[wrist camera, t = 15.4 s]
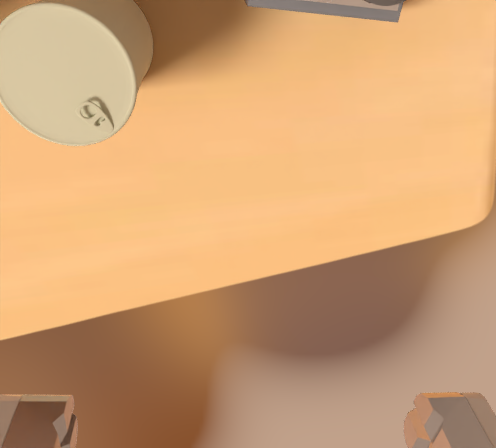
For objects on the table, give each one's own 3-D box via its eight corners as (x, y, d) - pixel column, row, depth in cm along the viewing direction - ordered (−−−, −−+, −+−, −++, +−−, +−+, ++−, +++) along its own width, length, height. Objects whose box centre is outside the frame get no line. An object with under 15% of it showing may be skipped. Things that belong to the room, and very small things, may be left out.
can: (98, 114, 42) (66, 174, 32) (16, 28, 37) (-51, 66, 28) (175, 53, 40) (166, 98, 30) (98, -47, 35) (56, -34, 25)
